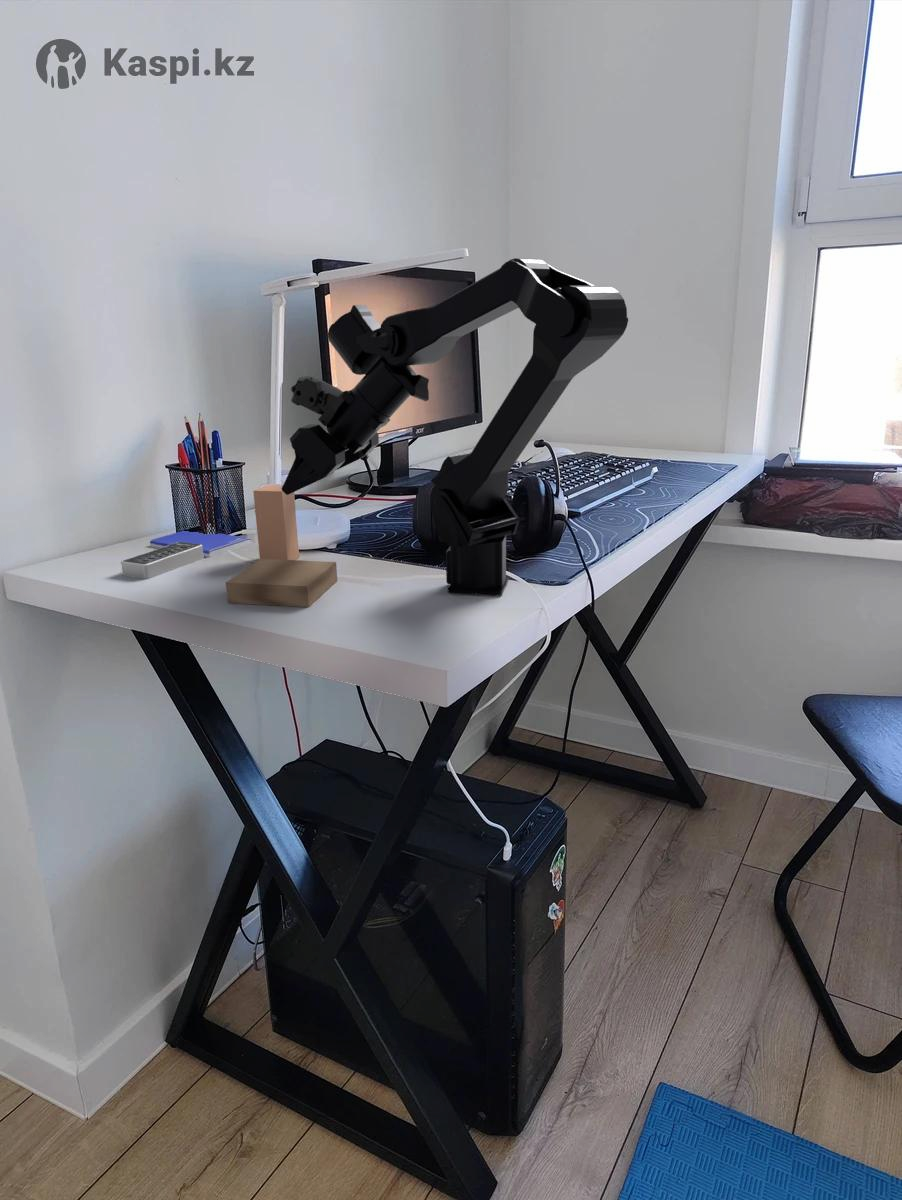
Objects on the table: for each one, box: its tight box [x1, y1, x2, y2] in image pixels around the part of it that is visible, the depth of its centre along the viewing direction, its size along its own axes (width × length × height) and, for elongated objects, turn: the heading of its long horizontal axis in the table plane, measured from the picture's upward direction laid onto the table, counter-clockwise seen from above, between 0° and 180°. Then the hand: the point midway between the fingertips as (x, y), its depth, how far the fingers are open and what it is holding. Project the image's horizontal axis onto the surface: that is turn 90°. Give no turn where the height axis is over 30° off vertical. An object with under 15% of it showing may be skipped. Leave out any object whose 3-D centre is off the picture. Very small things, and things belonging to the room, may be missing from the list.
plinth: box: [225, 558, 338, 608], centre depth 103 cm, size 10×10×2 cm
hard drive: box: [149, 530, 252, 558], centre depth 125 cm, size 2×8×12 cm
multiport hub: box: [120, 542, 205, 580], centre depth 115 cm, size 4×11×2 cm, turn 154°
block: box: [253, 484, 300, 560], centre depth 115 cm, size 4×4×10 cm
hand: (298, 485), depth 113 cm, fingers open, 9 cm apart
